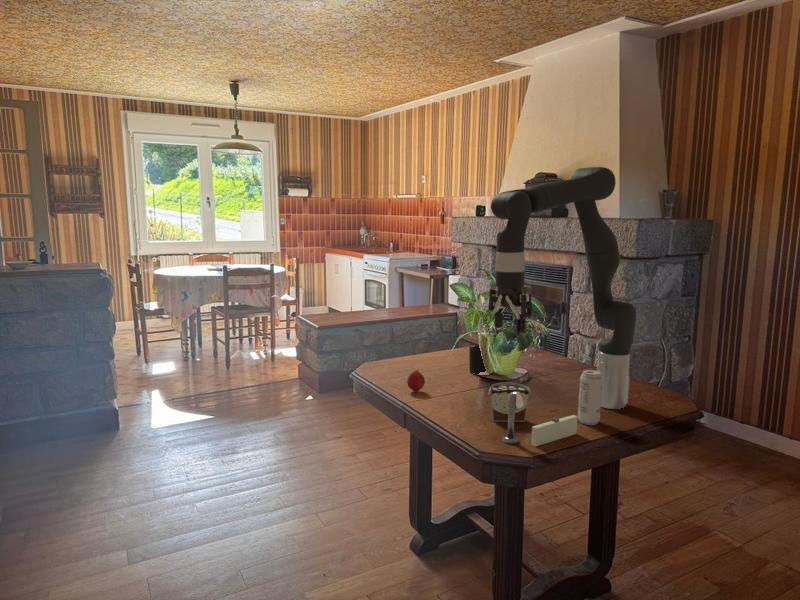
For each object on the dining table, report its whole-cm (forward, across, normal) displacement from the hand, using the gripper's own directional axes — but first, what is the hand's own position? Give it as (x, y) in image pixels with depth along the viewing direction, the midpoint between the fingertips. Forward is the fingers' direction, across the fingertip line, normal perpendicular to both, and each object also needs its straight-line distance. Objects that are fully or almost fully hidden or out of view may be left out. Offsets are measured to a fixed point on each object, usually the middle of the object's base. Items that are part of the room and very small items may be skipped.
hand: (509, 330), depth 145 cm
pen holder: (+29, +50, -30) cm, 65 cm away
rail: (+29, -9, -9) cm, 32 cm away
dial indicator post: (+29, -4, +3) cm, 29 cm away
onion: (+28, +42, +4) cm, 51 cm away
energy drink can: (+30, -4, -26) cm, 40 cm away
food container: (+29, +10, -8) cm, 32 cm away
